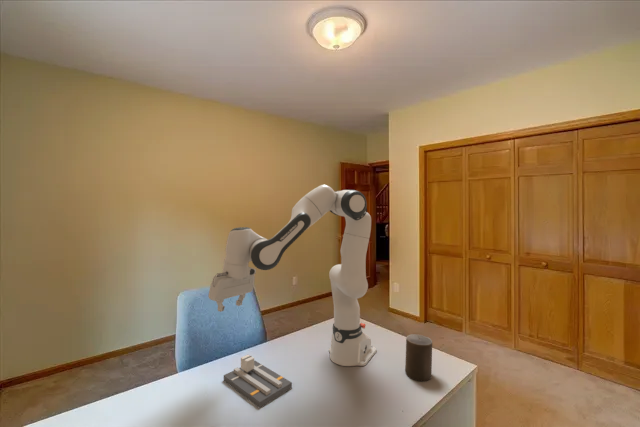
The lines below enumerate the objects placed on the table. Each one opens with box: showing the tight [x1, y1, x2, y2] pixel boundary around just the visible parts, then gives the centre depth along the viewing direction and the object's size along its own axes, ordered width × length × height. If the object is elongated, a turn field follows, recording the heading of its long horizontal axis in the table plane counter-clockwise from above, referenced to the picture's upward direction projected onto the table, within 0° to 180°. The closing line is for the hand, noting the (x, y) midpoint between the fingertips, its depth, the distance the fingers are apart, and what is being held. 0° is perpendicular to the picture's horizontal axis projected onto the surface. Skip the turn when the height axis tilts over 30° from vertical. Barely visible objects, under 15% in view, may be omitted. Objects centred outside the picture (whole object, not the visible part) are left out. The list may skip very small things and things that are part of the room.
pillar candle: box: [404, 333, 433, 382], centre depth 114 cm, size 10×10×15 cm
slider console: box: [223, 360, 293, 409], centre depth 107 cm, size 14×22×3 cm, turn 48°
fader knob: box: [240, 354, 255, 374], centre depth 111 cm, size 3×4×5 cm
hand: (230, 308), depth 108 cm, fingers open, 8 cm apart
